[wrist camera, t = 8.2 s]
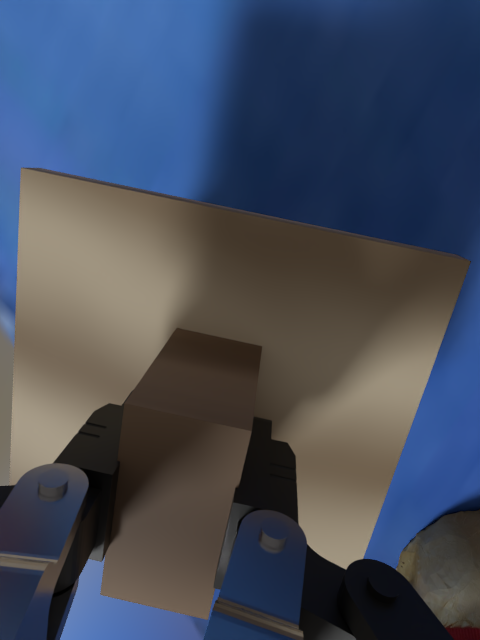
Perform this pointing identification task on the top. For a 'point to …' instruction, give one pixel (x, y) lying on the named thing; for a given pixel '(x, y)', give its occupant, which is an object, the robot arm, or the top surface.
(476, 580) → the chocolate bunny
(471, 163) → the top surface
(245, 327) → the birch lid
